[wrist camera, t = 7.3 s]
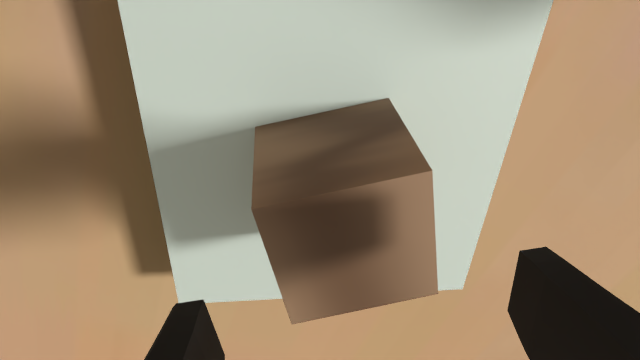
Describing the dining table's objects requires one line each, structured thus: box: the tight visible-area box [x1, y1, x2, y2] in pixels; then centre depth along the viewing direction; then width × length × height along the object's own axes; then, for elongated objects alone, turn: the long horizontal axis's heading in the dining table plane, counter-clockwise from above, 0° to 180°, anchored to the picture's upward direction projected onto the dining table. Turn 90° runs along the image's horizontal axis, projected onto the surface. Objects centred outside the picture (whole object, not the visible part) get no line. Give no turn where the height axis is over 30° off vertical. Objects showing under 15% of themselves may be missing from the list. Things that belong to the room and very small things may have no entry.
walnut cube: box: [251, 98, 438, 324], centre depth 15 cm, size 5×5×5 cm
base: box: [117, 0, 553, 303], centre depth 19 cm, size 14×14×2 cm
